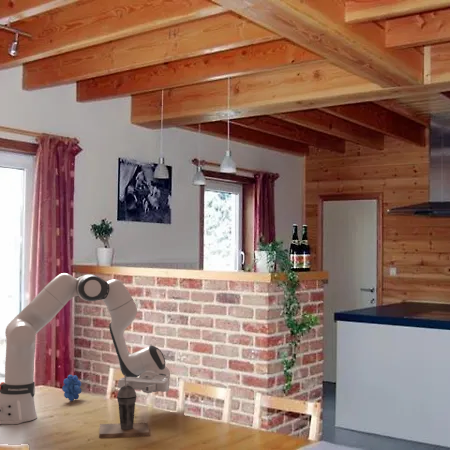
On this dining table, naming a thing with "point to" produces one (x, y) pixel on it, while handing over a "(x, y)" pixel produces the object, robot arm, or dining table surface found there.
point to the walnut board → (116, 430)
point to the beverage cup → (126, 406)
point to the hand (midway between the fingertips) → (136, 387)
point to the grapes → (72, 387)
